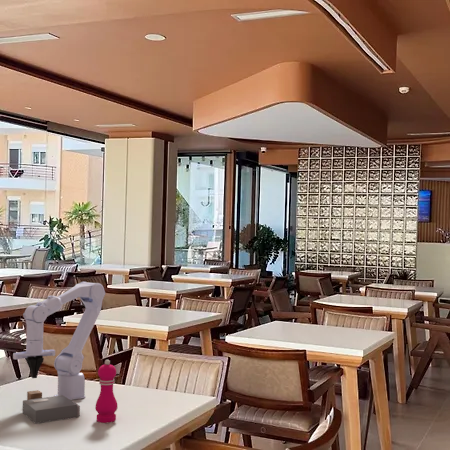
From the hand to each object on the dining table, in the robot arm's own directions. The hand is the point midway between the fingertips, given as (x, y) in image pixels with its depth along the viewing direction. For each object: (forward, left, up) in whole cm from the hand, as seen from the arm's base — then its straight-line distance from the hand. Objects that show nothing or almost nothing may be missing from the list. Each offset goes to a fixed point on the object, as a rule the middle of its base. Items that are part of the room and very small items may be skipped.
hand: (34, 377), depth 232 cm
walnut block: (0, +1, -10) cm, 10 cm away
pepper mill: (-15, +29, -10) cm, 34 cm away
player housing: (-1, +14, -10) cm, 17 cm away
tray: (-2, +14, -10) cm, 17 cm away
